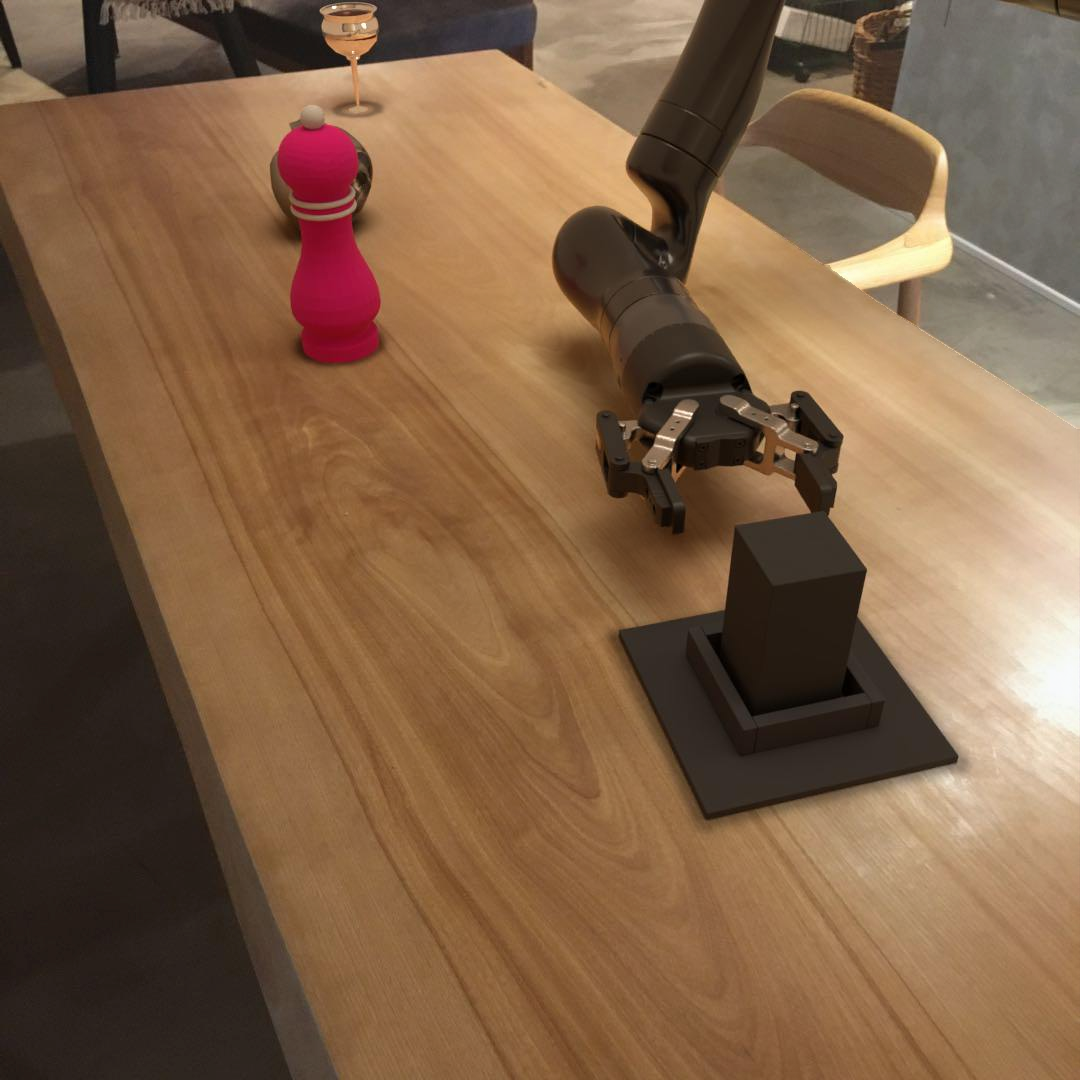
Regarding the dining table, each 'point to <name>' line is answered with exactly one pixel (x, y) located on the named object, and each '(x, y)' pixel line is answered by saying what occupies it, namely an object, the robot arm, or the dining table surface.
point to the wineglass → (350, 34)
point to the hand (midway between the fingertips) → (753, 513)
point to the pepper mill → (328, 243)
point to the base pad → (778, 722)
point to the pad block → (790, 612)
